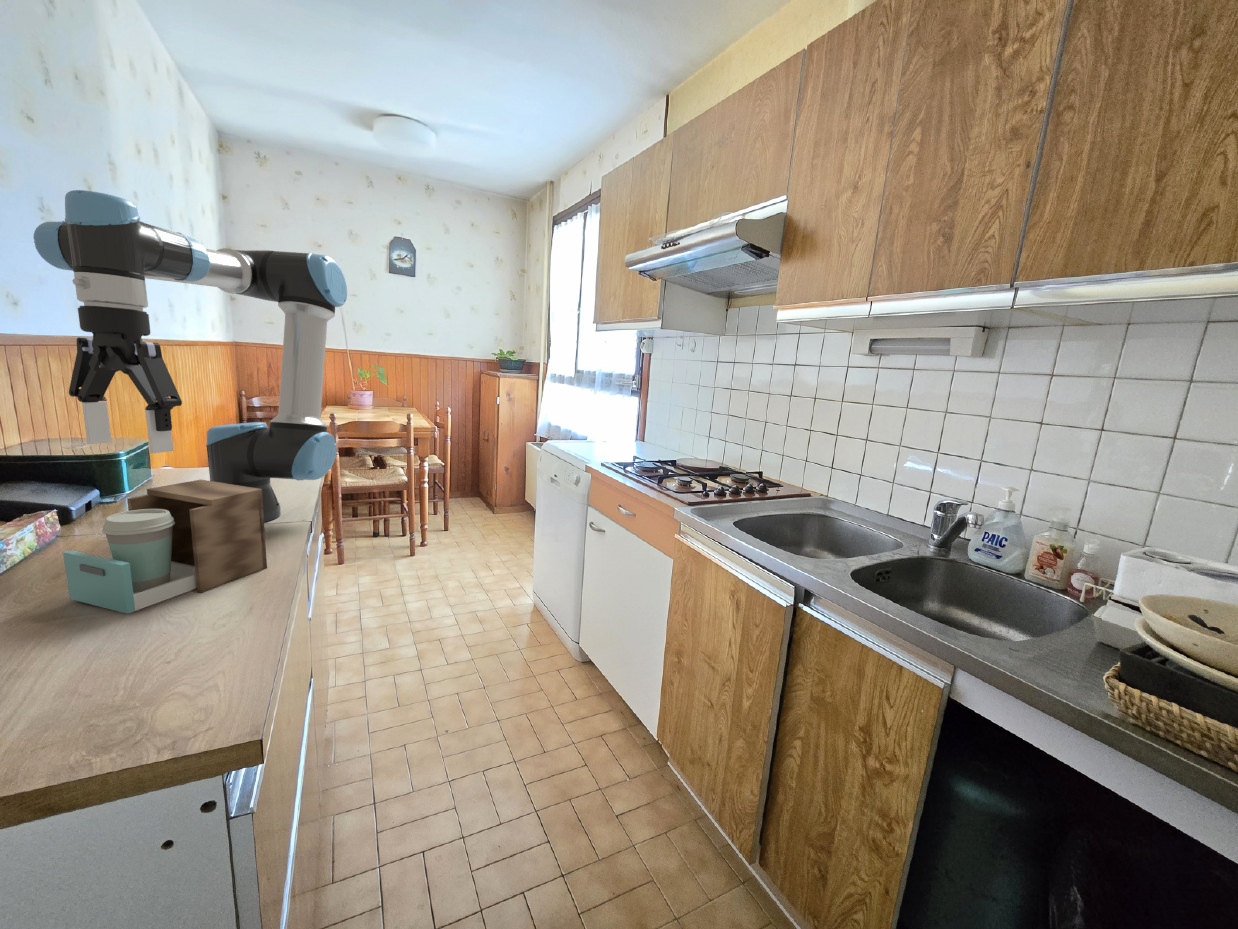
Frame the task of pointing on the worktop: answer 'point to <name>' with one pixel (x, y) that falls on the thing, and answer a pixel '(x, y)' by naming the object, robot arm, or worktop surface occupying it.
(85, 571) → the teal drawer
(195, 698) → the worktop surface
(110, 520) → the coffee cup
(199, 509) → the cubby
